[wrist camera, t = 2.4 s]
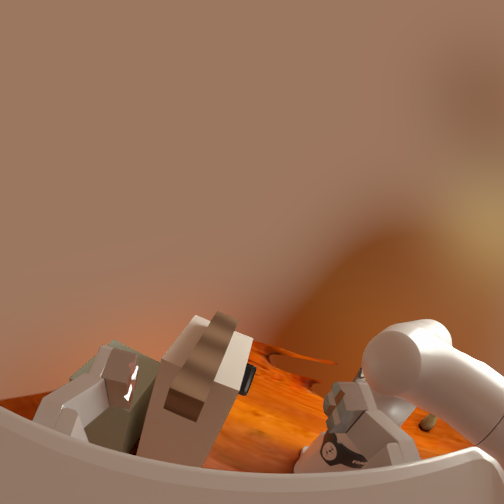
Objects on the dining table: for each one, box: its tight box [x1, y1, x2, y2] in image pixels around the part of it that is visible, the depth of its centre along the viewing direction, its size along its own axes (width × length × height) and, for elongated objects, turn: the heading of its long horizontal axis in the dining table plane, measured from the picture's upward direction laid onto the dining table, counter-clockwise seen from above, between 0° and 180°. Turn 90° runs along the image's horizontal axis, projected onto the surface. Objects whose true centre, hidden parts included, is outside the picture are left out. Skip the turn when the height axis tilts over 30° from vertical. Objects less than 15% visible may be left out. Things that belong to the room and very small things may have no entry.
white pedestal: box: [136, 315, 253, 468], centre depth 45 cm, size 15×10×26 cm, turn 173°
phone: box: [238, 363, 256, 396], centre depth 81 cm, size 8×1×15 cm
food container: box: [353, 366, 367, 383], centre depth 86 cm, size 12×6×10 cm, turn 151°
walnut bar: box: [163, 311, 238, 422], centre depth 37 cm, size 21×4×3 cm, turn 173°
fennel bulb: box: [420, 414, 437, 430], centre depth 78 cm, size 6×5×12 cm
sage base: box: [70, 340, 160, 454], centre depth 44 cm, size 14×10×16 cm
